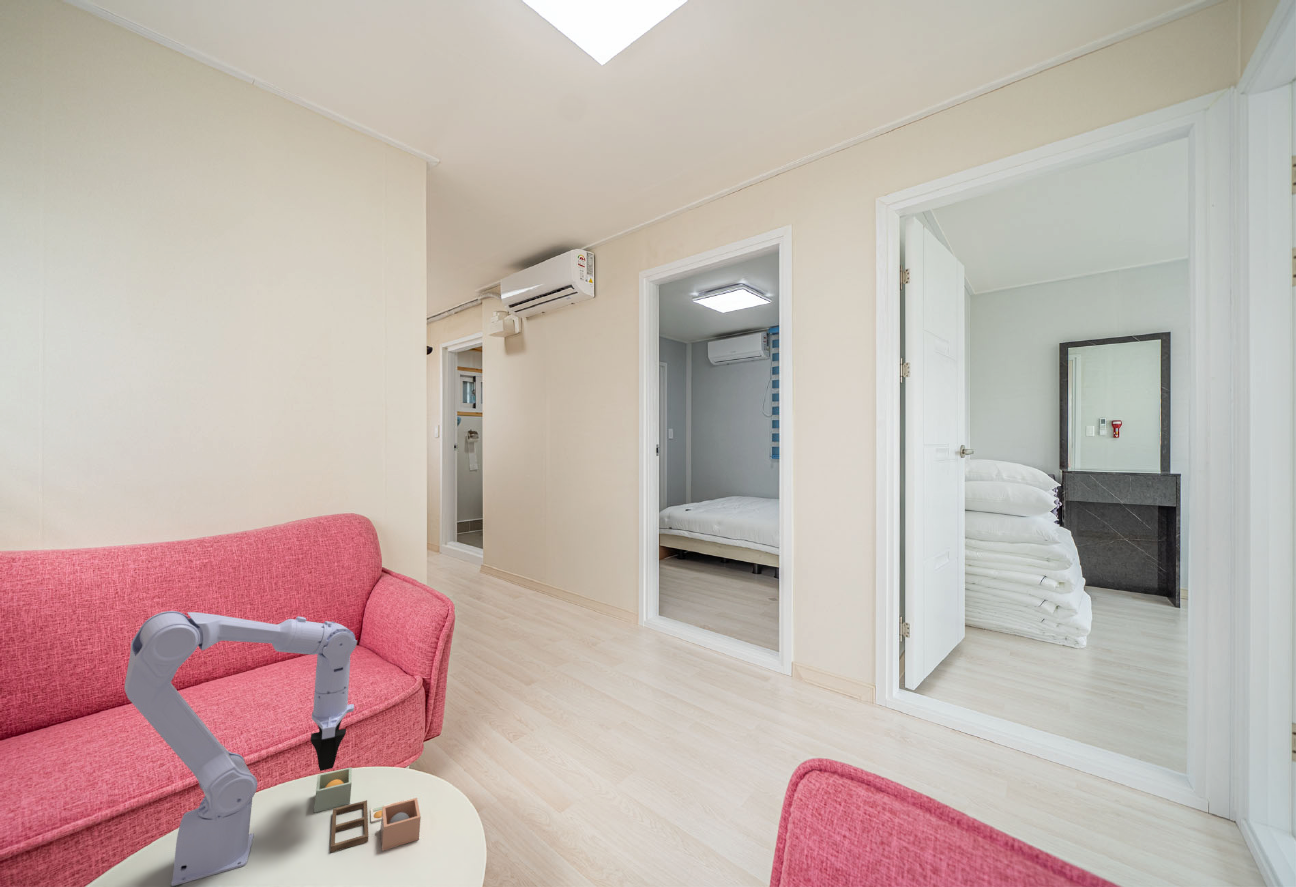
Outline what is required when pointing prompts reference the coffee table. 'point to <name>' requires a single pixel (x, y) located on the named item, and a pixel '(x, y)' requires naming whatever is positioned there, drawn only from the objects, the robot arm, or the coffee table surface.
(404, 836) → the pink open box
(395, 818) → the grey ball
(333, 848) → the rack
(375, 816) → the card
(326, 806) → the sage open box
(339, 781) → the orange ball
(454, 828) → the coffee table surface
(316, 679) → the robot arm
